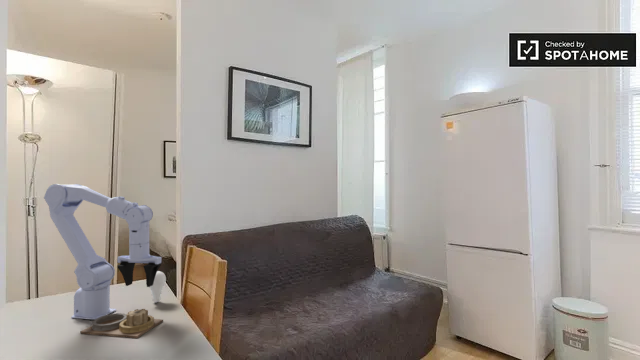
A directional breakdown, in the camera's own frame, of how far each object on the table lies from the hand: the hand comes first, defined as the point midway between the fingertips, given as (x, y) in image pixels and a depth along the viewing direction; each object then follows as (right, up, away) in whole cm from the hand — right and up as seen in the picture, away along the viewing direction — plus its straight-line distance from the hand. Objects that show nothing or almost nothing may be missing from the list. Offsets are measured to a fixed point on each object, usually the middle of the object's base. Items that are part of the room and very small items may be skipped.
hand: (139, 285), depth 105 cm
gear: (+5, -9, -10) cm, 14 cm away
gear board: (0, -9, -9) cm, 13 cm away
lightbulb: (0, -10, +11) cm, 15 cm away
